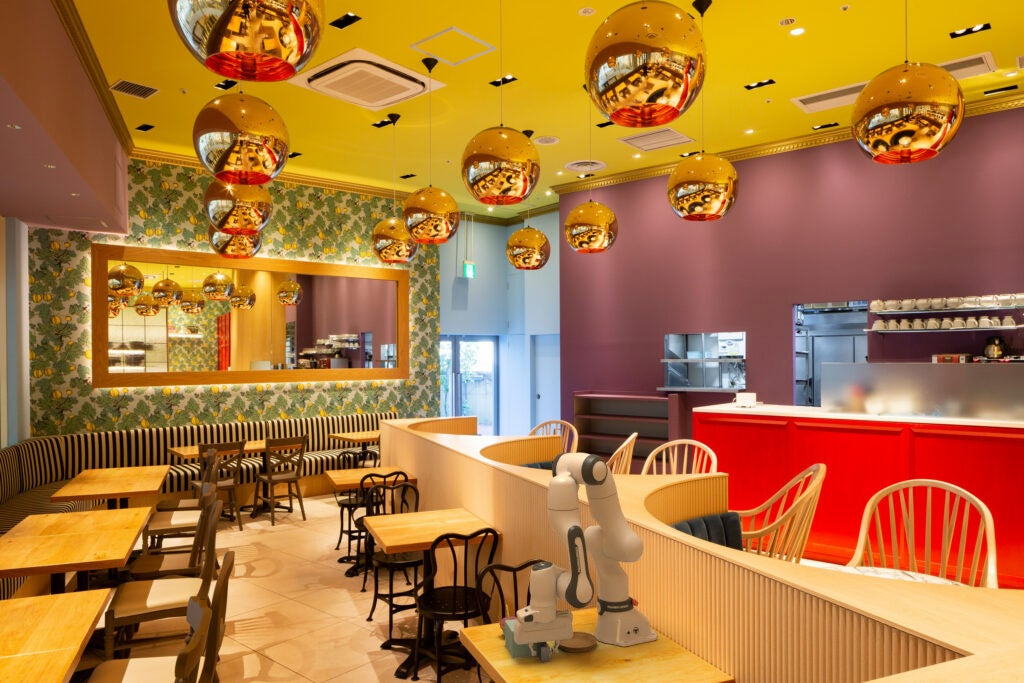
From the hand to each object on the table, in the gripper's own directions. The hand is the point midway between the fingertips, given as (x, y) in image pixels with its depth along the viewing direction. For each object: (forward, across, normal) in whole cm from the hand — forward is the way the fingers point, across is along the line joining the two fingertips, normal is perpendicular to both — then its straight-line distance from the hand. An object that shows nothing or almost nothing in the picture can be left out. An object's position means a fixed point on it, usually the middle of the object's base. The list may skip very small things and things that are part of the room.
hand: (543, 654), depth 225 cm
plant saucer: (+2, -14, -8) cm, 16 cm away
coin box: (+2, +4, -9) cm, 10 cm away
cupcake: (+2, +6, -22) cm, 23 cm away
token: (+2, 0, 0) cm, 2 cm away
